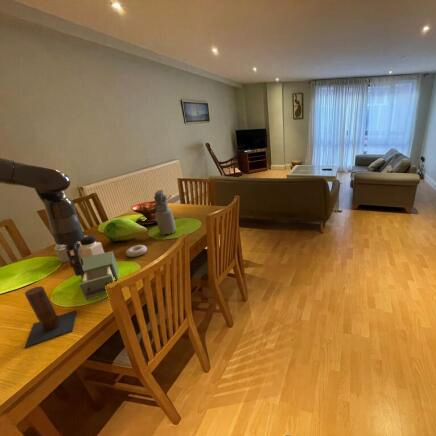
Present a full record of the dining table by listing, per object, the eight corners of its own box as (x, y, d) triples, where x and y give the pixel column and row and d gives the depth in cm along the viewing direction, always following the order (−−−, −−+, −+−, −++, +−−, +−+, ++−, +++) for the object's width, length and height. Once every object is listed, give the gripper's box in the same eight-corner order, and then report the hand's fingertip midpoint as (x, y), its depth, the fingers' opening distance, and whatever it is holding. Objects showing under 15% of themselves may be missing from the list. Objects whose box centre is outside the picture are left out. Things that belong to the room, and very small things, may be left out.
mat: (72, 331, 85) (72, 330, 84) (25, 348, 78) (24, 347, 78) (76, 310, 94) (76, 309, 93) (34, 324, 87) (33, 323, 87)
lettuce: (150, 234, 161) (143, 248, 149) (111, 231, 155) (100, 245, 142) (149, 215, 155) (142, 228, 142) (109, 211, 148) (97, 224, 135)
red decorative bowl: (172, 211, 196) (168, 192, 190) (178, 220, 177) (174, 200, 171) (132, 219, 181) (126, 199, 175) (135, 230, 163) (128, 207, 156)
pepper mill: (59, 327, 85) (41, 291, 79) (42, 333, 83) (22, 296, 77) (61, 320, 89) (44, 284, 83) (45, 325, 86) (26, 289, 80)
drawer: (116, 296, 100) (111, 280, 97) (85, 306, 94) (78, 290, 92) (116, 276, 113) (111, 262, 110) (88, 284, 107) (82, 269, 104)
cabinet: (118, 280, 111) (112, 263, 107) (86, 290, 105) (79, 272, 101) (118, 267, 121) (112, 250, 118) (89, 275, 115) (82, 258, 112)
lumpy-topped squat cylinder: (87, 248, 139) (82, 235, 136) (79, 259, 128) (73, 245, 125) (65, 252, 136) (59, 238, 132) (54, 263, 124) (47, 249, 121)
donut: (150, 248, 139) (131, 249, 138) (149, 243, 138) (129, 244, 136) (143, 257, 130) (123, 259, 129) (142, 251, 129) (121, 253, 127)
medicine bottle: (105, 253, 134) (98, 234, 130) (94, 260, 128) (87, 240, 123) (93, 253, 135) (85, 233, 130) (81, 259, 128) (74, 240, 123)
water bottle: (174, 234, 156) (165, 193, 145) (158, 236, 153) (148, 194, 143) (177, 228, 165) (169, 189, 154) (161, 230, 162) (152, 190, 152)
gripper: (53, 225, 85) (67, 266, 90) (49, 237, 74) (65, 282, 79) (80, 221, 89) (92, 259, 94) (81, 231, 79) (94, 274, 84)
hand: (80, 270), depth 87 cm, fingers open, 8 cm apart
